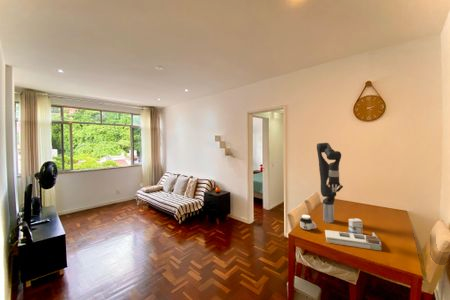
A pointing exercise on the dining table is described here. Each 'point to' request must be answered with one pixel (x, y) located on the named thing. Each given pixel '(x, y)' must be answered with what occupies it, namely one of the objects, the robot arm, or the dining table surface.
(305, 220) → the spread jar
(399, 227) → the dining table surface
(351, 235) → the two-hole white board
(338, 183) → the robot arm
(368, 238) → the walnut block
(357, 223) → the ink box
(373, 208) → the dining table surface
